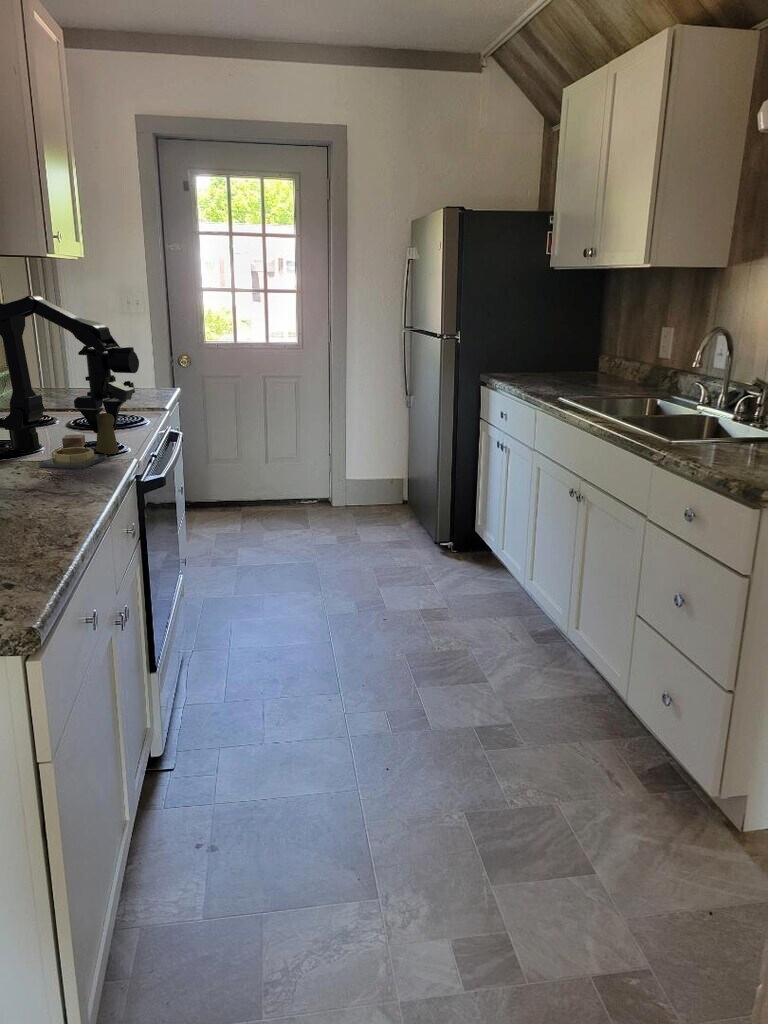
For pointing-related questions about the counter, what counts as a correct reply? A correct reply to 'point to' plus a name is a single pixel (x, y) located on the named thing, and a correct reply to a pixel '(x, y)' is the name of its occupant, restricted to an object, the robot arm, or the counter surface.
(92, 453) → the cup bracket
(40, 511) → the counter surface
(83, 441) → the walnut block
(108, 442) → the olive brown tapered cylinder
